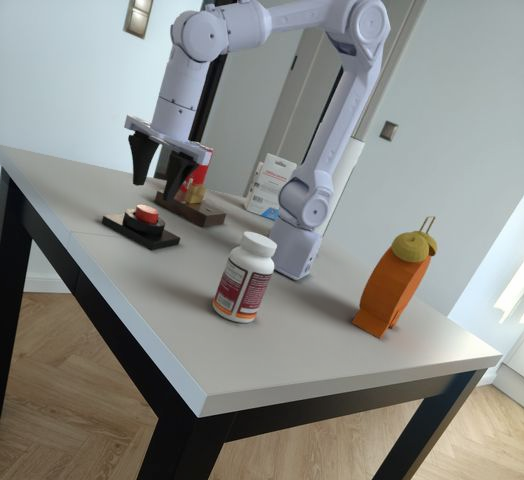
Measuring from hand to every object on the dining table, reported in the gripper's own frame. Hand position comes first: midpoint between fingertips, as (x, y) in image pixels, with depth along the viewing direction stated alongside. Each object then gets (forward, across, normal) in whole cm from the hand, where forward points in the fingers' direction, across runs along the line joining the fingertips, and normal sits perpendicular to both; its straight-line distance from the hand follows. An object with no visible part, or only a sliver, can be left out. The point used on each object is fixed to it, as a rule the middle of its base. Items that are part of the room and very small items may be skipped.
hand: (152, 192), depth 80 cm
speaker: (+7, +14, +40) cm, 43 cm away
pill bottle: (+7, +23, -10) cm, 26 cm away
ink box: (+7, -1, +54) cm, 55 cm away
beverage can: (+7, -12, +34) cm, 37 cm away
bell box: (+7, 0, 0) cm, 7 cm away
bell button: (+5, 0, 0) cm, 5 cm away
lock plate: (+7, -5, +24) cm, 26 cm away
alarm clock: (+7, +40, +15) cm, 43 cm away
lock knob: (+5, -5, +24) cm, 25 cm away
